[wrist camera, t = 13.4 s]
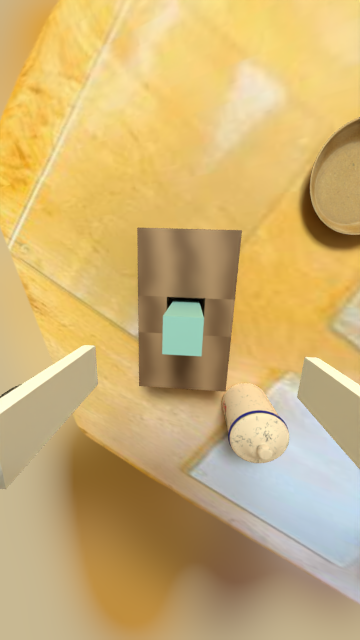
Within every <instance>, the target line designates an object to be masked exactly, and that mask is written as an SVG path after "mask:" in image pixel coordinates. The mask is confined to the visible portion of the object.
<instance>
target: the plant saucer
mask: <svg viewBox="0 0 360 640" xmlns="http://www.w3.org/2000/svg"><path fill="white" fill-rule="evenodd" d="M310 197H311V202H312V205H313V208H314V210H315V212H316V214H317V215H318V217H319V218H320V220H321V221H322V222H323V223H324V224H325V225H326V226H328V227H329V228H331V229H332V230H334V231H337V232H339V233H343V234H348V235H360V117H359V118H356V119H354V120H352V121H350V122H348V123H347V124H345V125H344V126H342V127H341V128H340V129H338V130H337V131H336V132H335V133H334V134H333V135H332V136H331V137H330V138H329V139H328V141H327V142H326V143H325V144H324V146H323V147H322V149H321V151H320V152H319V154H318V156H317V158H316V160H315V163H314V165H313V169H312V172H311V178H310Z"/></svg>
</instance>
